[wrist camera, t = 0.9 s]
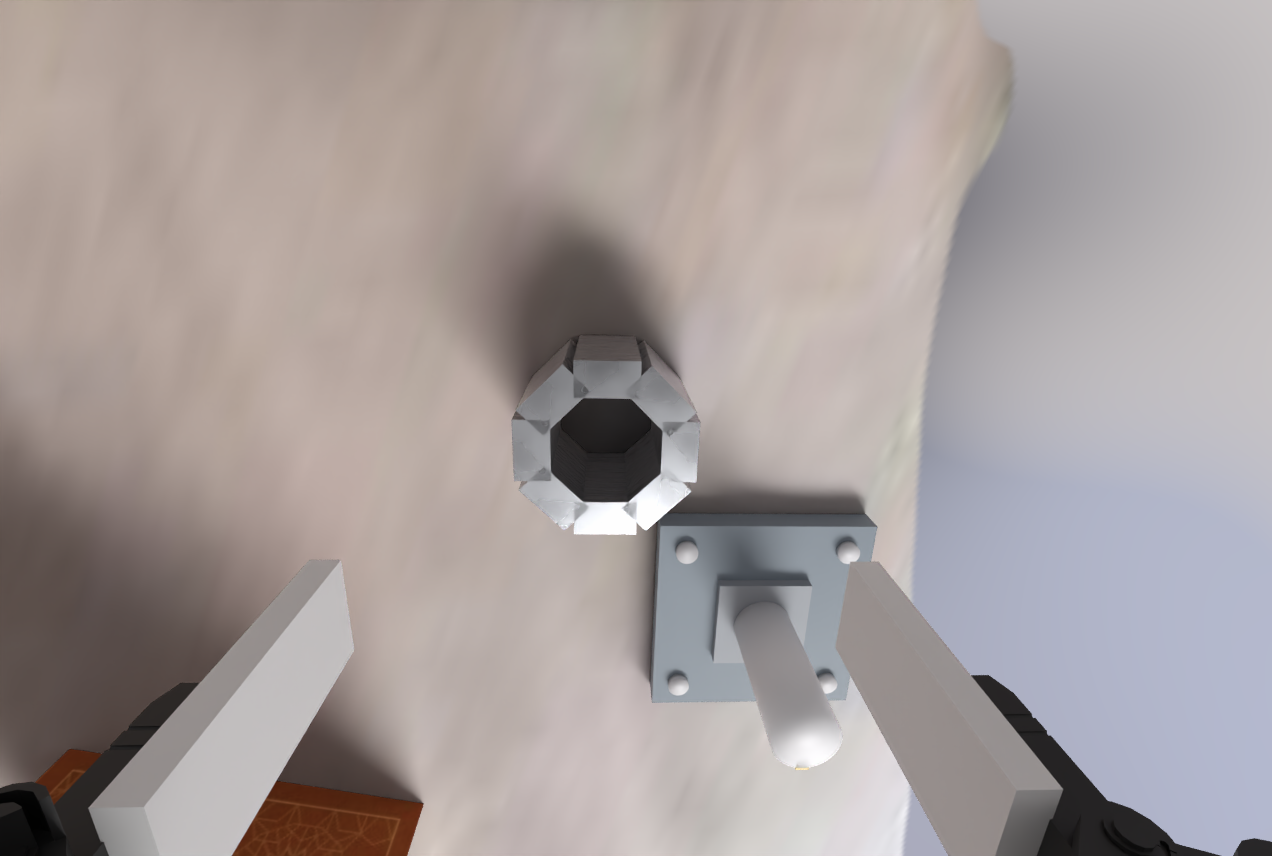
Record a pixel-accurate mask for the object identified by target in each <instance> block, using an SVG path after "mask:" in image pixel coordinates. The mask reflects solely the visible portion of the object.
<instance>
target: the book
mask: <svg viewBox="0 0 1272 856" xmlns="http://www.w3.org/2000/svg"><path fill="white" fill-rule="evenodd" d="M101 755H102V754H100V753H94V752H87V751H81V750H74V749H69V750H68V751H67V752H66V753H65V754H64V755H63V756H62V757H61V758H60V759H59V760H58V761H57V762H55V763H54V764H53V765H52V766H51V767H50V768H49V769H48V770H47V771H46V772H45V773H44V774H43V775H42V776H41V777H40V778H39V779H38V780H37V781H36V782H35V783H38V784H41V785H44V786H46V788H47V790H48V792H49V794H50V796H51V799H52V801H53V804H55V803H56V802H57V801H58V800H59V799H60V798H61V797H62V796H63V795H64V794H65V793H66V791H67V790H68V789H69V788H70V787H71V786H72V785H73V784H74V783H75V782H76V781H77V780H78V779H79V778H80V777H81V776H82V775H83V774H84V773H85V772H86V771H87V770H88V768H89V767H90V766H91V765H92V764H93V763H94V762H95V761H96V760H97V759H98V758H99V757H100V756H101ZM422 808H423V803H416V802H410V801H403V800H397V799H390V798H384V797H377V796H371V795H365V794H358V793H352V792H345V791H339V790H332V789H326V788H319V787H313V786H307V785H300V784H294V783H287V782H281V781H276V782H275V784H274V786H273V787H272V789H271V791H270V792H269V794H268V796H267V797H266V799H265V801H264V802H263V804H262V806H261V807H260V809H259V811H258V812H257V814H256V816H255V818H254V819H253V821H252V823H251V824H250V826H249V828H248V829H247V831H246V833H245V834H244V836H243V838H242V839H241V841H240V843H239V844H238V846H237V848H236V849H235V851H234V853H233V854H232V856H407V855H408V852H409V848H410V845H411V842H412V839H413V836H414V833H415V830H416V826H417V823H418V820H419V817H420V814H421V811H422Z"/></svg>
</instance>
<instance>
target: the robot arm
mask: <svg viewBox="0 0 1272 856" xmlns="http://www.w3.org/2000/svg"><path fill="white" fill-rule="evenodd" d="M835 648H836V650H837V652H838V653H839V655H840V657H841V659H842V661H843V663H844V664H845V666H846V668H847V670H848V672H849V674H850V675H851V677H852V679H853V681H854V683H855V685H856V687H857V688H858V690H859V692H860V694H861V696H862V698H863V699H864V701H865V703H866V705H867V707H868V709H869V710H870V712H871V714H872V716H873V718H874V720H875V721H876V723H877V725H878V727H879V729H880V731H881V733H882V734H883V736H884V738H885V740H886V742H887V744H888V745H889V747H890V749H891V751H892V753H893V755H894V756H895V758H896V760H897V762H898V764H899V766H900V768H901V769H902V771H903V773H904V775H905V777H906V779H907V780H908V782H909V784H910V786H911V788H912V790H913V791H914V793H915V795H916V797H917V799H918V801H919V802H920V804H921V806H922V808H923V810H924V812H925V814H926V815H927V817H928V819H929V821H930V823H931V825H932V826H933V828H934V830H935V832H936V834H937V836H938V837H939V839H940V841H941V843H942V845H943V847H944V848H945V850H946V852H947V854H948V856H1220V855H1216V854H1212V853H1209V852H1205V851H1201V850H1197V849H1194V848H1190V847H1186V846H1182V845H1179V844H1175V843H1174V842H1173V840H1172V839H1171V838H1170V837H1169V836H1168V834H1167V833H1166V832H1164V831H1163V830H1162V829H1161V828H1160V827H1158V826H1157V825H1156V824H1155V823H1153V822H1152V821H1151V820H1150V819H1148V818H1146V817H1145V816H1143V815H1141V814H1140V813H1138V812H1136V811H1134V810H1133V809H1131V808H1128V807H1125V806H1123V805H1120V804H1117V803H1114V802H1110V801H1107V800H1106V798H1105V797H1104V796H1103V795H1102V794H1101V793H1100V792H1099V790H1098V789H1097V788H1096V787H1095V786H1094V785H1093V784H1092V782H1091V781H1090V780H1089V779H1088V778H1087V777H1086V776H1085V775H1084V773H1083V772H1082V771H1081V770H1080V769H1079V768H1078V767H1077V765H1076V764H1075V763H1074V762H1073V761H1072V760H1071V758H1070V757H1069V756H1068V755H1067V754H1066V753H1065V751H1064V750H1063V749H1062V748H1061V747H1060V746H1059V745H1058V743H1057V742H1056V741H1055V740H1054V739H1053V738H1052V737H1051V736H1048V735H1047V731H1046V730H1045V729H1044V727H1043V726H1042V725H1041V724H1040V723H1039V722H1038V721H1037V719H1036V718H1033V717H1032V714H1031V713H1030V711H1029V710H1028V709H1027V708H1026V707H1025V706H1024V704H1022V702H1021V701H1020V700H1019V699H1018V698H1017V696H1016V695H1015V694H1014V693H1013V692H1011V691H1010V690H1009V689H1007V688H1006V687H1004V686H1003V685H1002V684H1000V683H999V682H997V681H996V680H995V679H993V678H992V677H990V676H989V675H970V674H969V673H968V671H967V670H966V669H965V668H964V667H963V665H962V664H961V663H960V662H959V660H958V659H957V658H956V657H955V655H954V654H953V653H952V652H951V650H950V649H949V648H948V647H947V645H946V644H945V643H944V642H943V641H942V639H941V638H940V637H939V636H938V634H937V633H936V632H935V631H934V630H933V628H932V627H931V626H930V625H929V623H928V622H927V621H926V620H925V619H924V617H923V616H922V615H921V614H920V612H919V611H918V610H917V609H916V607H915V606H914V605H913V604H912V602H911V601H910V600H909V599H908V597H907V596H906V595H905V594H904V593H903V591H902V590H901V589H900V588H899V586H898V585H897V584H896V583H895V581H894V580H893V579H892V578H891V576H890V575H889V574H888V573H887V572H886V570H885V569H884V568H883V567H882V565H881V564H880V563H879V562H850V566H849V572H848V578H847V583H846V589H845V595H844V600H843V606H842V612H841V618H840V623H839V629H838V635H837V641H836V646H835ZM353 651H354V643H353V637H352V630H351V623H350V617H349V610H348V603H347V597H346V590H345V583H344V577H343V570H342V563H341V560H309V561H308V562H307V563H306V565H305V566H304V567H303V568H302V569H301V570H300V571H299V572H298V573H297V575H296V576H295V577H294V578H293V579H292V580H291V581H290V582H289V584H288V585H287V586H286V587H285V588H284V589H283V590H282V591H281V593H280V594H279V595H278V596H277V597H276V598H275V599H274V600H273V602H272V603H271V604H270V605H269V606H268V607H267V608H266V609H265V610H264V612H263V613H262V614H261V615H260V616H259V617H258V618H257V619H256V621H255V622H254V623H253V624H252V625H251V626H250V627H249V628H248V630H247V631H246V632H245V633H244V634H243V635H242V636H241V637H240V639H239V640H238V641H237V642H236V643H235V644H234V645H233V646H232V647H231V649H230V650H229V651H228V652H227V653H226V654H225V655H224V656H223V658H222V659H221V660H220V661H219V662H218V663H217V664H216V665H215V667H214V668H213V669H212V670H211V671H210V672H209V673H208V674H207V676H206V677H205V678H204V679H203V680H202V681H201V682H200V683H180V684H179V685H177V686H176V687H174V688H173V689H171V690H170V691H168V692H167V693H165V694H164V695H162V696H161V697H159V698H158V699H156V700H155V701H153V702H152V703H151V704H150V705H149V706H148V707H147V708H146V709H145V710H144V711H143V712H142V713H141V714H140V715H139V716H138V717H137V718H136V719H135V720H134V721H133V722H132V724H131V725H130V726H129V729H128V731H124V732H123V733H122V734H121V735H120V736H119V737H118V738H117V739H116V740H115V741H114V742H113V743H112V744H111V747H110V749H109V750H106V751H105V752H104V753H103V754H102V755H101V756H100V757H99V758H98V759H97V760H96V761H95V762H94V763H93V764H92V765H91V766H90V767H89V768H88V770H87V771H86V772H85V773H84V774H83V775H82V776H81V777H80V778H79V779H78V780H77V781H76V782H75V783H74V784H73V785H72V786H71V787H70V788H69V789H68V790H67V791H66V793H65V794H64V795H63V796H62V797H61V798H60V799H59V800H58V801H57V802H56V803H55V804H53V801H52V799H51V796H50V794H49V792H48V790H47V788H46V786H44V785H41V784H38V783H34V782H27V783H18V784H11V785H8V786H5V787H2V788H0V856H232V854H233V853H234V851H235V849H236V848H237V846H238V844H239V843H240V841H241V839H242V838H243V836H244V834H245V833H246V831H247V829H248V828H249V826H250V824H251V823H252V821H253V819H254V818H255V816H256V814H257V812H258V811H259V809H260V807H261V806H262V804H263V802H264V801H265V799H266V797H267V796H268V794H269V792H270V791H271V789H272V787H273V786H274V784H275V782H276V781H277V779H278V777H279V776H280V774H281V772H282V771H283V769H284V767H285V766H286V764H287V762H288V760H289V759H290V757H291V755H292V754H293V752H294V750H295V749H296V747H297V745H298V744H299V742H300V740H301V739H302V737H303V735H304V734H305V732H306V730H307V729H308V727H309V725H310V724H311V722H312V720H313V719H314V717H315V715H316V714H317V712H318V710H319V709H320V707H321V705H322V703H323V702H324V700H325V698H326V697H327V695H328V693H329V692H330V690H331V688H332V687H333V685H334V683H335V682H336V680H337V678H338V677H339V675H340V673H341V672H342V670H343V668H344V667H345V665H346V663H347V662H348V660H349V658H350V657H351V655H352V653H353ZM1233 856H1272V842H1270V841H1265V840H1260V839H1255V838H1254V839H1249V840H1243V841H1241V843H1240V844H1239V846H1238V848H1237V850H1236V852H1235V853H1234V855H1233Z"/></svg>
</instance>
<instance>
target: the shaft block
mask: <svg viewBox="0 0 1272 856" xmlns="http://www.w3.org/2000/svg"><path fill="white" fill-rule="evenodd" d="M876 531H877V526H876V525H875V524H874V523H873V522H872V521H871V519H870V518H869V517H868V516H867V515H866V514H702V513H666V514H665V515H664V516H662V517H661V518H660V519H659V520H658V529H657V550H656V572H655V593H654V615H653V636H652V658H651V679H650V687H651V697H652V703H662V702H740V701H756V702H757V705H758V708H759V711H760V714H761V718H762V721H763V724H764V727H765V730H766V733H767V737H768V740H769V743H770V746H771V749H772V752H773V754H774V756H775V757H776V758H777V759H778V760H779V761H780V762H781V763H783V764H785V765H787V766H790V767H795V770H809V767H813V766H817V765H819V764H822V763H824V762H825V761H827V760H829V759H830V758H831V757H832V756H833V755H834V754H835V753H836V752H837V751H838V749H839V748H840V745H841V743H842V738H843V734H842V729H841V727H840V725H839V722H838V720H837V718H836V716H835V714H834V712H833V710H832V708H831V705H830V703H829V701H828V700H846V696H847V690H848V685H849V679H850V674H849V672H848V670H847V668H846V666H845V664H844V663H843V661H842V659H841V657H840V655H839V653H838V652H837V650H836V648H835V646H836V641H837V635H838V629H839V623H840V618H841V612H842V606H843V600H844V595H845V589H846V583H847V578H848V572H849V566H850V562H871V558H872V553H873V547H874V542H875V536H876Z"/></svg>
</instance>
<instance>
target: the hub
mask: <svg viewBox="0 0 1272 856" xmlns="http://www.w3.org/2000/svg"><path fill="white" fill-rule="evenodd" d="M583 398H609V399H631V400H632V401H633V402H634V403H635V404H636V405H637V406H638V407H639V408H640V409H641V410H642V411H643V412H644V413H645V414H646V415H647V416H648V417H649V418H650V419H651V430H650V431H649V432H647V433H646V434H645V435H644V436H643V437H642V438H641V439H640V440H639V441H637V442H636V443H635V444H634V445H633V446H632V447H631V448H630V449H629V450H627V451H626V452H625V453H587V452H586V451H585V450H584V449H583V448H582V447H580V446H579V445H578V444H577V443H576V442H575V441H574V440H573V439H572V438H571V437H570V436H569V435H568V434H567V433H566V432H565V431H563V430H562V429H561V419H562V418H563V417H564V416H565V415H566V414H567V413H568V412H569V411H570V410H571V409H572V408H573V407H574V406H575V405H576V404H578V403H579V402H580V401H581V400H582V399H583ZM696 413H697V412H696V410H695V408H694V406H693V404H692V402H691V400H690V398H689V396H688V394H687V391H686V389H685V387H684V385H683V383H682V381H681V379H680V378H679V377H678V376H677V375H676V374H675V372H674V371H673V370H672V369H671V368H670V367H669V366H668V365H667V364H666V363H665V362H664V361H663V360H662V359H661V358H660V357H659V356H658V355H657V354H656V352H655V351H654V350H653V349H652V348H651V347H650V346H649V345H648V344H647V343H646V342H645V341H644V340H643V341H642V342H641V343H640V344H639V345H637V342H636V338H635V336H604V335H580V336H579V340H578V344H576V343H575V342H574V341H573V340H572V339H570V340H569V341H568V342H567V343H566V344H565V345H564V346H563V347H562V348H561V349H560V350H559V351H558V352H557V353H556V354H555V355H554V356H553V357H551V358H550V359H549V360H548V361H547V362H546V363H545V364H544V365H543V366H542V367H541V368H540V369H539V370H538V371H537V372H536V373H535V374H534V375H533V376H532V378H531V380H530V382H529V384H528V386H527V388H526V390H525V392H524V394H523V396H522V398H521V400H520V402H519V404H518V406H517V408H516V412H515V414H514V416H513V418H512V443H513V468H514V481H522V482H521V485H520V488H519V491H520V492H521V493H522V494H523V495H525V496H526V497H527V498H528V499H529V500H530V501H531V502H533V503H534V504H535V505H536V506H537V507H538V508H539V509H541V510H542V511H543V512H544V513H545V514H546V515H547V516H548V517H550V518H551V519H552V520H553V521H554V522H555V523H556V524H558V525H559V526H560V527H561V528H562V529H563V530H566V529H567V528H568V527H569V526H570V525H571V524H572V523H573V522H574V534H636V522H637V523H638V524H639V525H640V526H641V527H642V528H643V529H644V530H645V531H646V530H647V529H648V528H650V527H651V526H652V525H653V524H654V523H655V522H657V521H658V520H659V519H660V518H661V517H662V516H664V515H665V514H666V513H667V512H668V511H669V510H671V509H672V508H673V507H674V506H675V505H676V504H677V503H679V502H680V501H681V500H682V499H683V498H684V497H686V496H687V495H688V494H689V493H690V492H691V488H690V485H689V482H696V479H697V464H698V450H699V435H700V421H699V419H698V416H697V414H696Z"/></svg>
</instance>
